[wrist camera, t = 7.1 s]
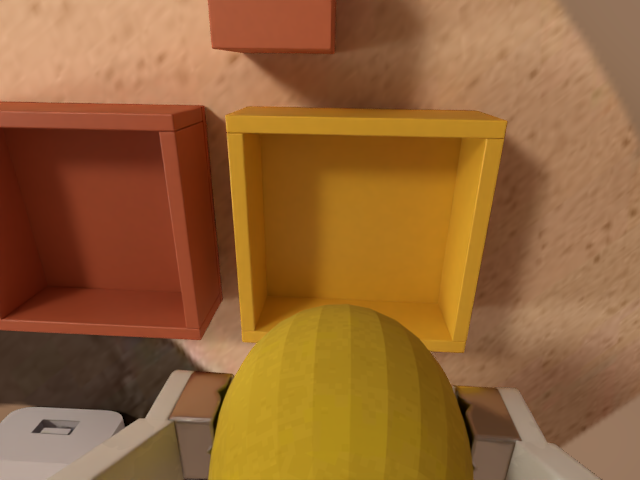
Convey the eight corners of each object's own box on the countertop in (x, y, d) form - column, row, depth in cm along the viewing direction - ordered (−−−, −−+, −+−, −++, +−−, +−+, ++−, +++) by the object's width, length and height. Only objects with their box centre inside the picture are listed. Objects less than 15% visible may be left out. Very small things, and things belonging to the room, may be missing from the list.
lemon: (242, 378, 14) (123, 730, 6) (275, 233, 12) (153, 514, 4) (397, 416, 14) (453, 797, 7) (457, 281, 12) (638, 624, 5)
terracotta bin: (-11, 101, 23) (-89, 108, 19) (204, 105, 23) (172, 113, 18) (44, 291, 28) (-7, 330, 24) (223, 299, 28) (200, 340, 23)
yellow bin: (247, 106, 22) (224, 115, 18) (478, 110, 22) (508, 120, 18) (257, 301, 27) (242, 342, 23) (446, 309, 27) (464, 353, 23)
